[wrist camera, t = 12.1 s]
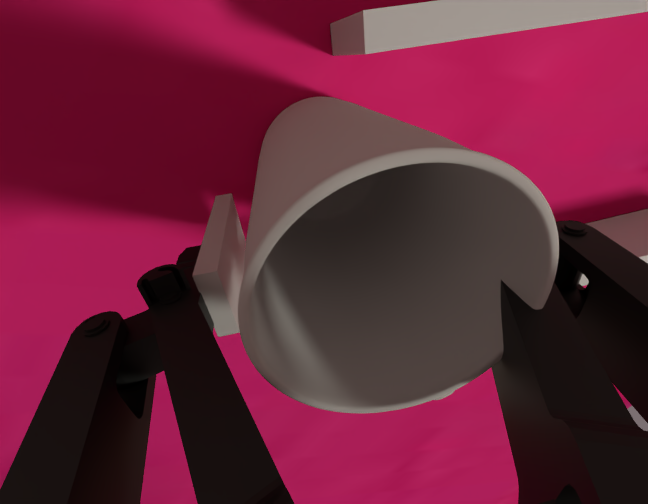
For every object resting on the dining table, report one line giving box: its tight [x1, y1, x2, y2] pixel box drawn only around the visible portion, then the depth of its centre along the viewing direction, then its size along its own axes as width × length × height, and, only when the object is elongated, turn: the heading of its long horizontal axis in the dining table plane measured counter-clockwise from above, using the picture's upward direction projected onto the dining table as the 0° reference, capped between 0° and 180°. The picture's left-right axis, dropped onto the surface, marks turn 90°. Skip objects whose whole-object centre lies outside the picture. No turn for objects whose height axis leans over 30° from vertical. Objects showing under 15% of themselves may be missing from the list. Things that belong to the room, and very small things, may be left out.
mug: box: [238, 97, 559, 413], centre depth 13 cm, size 10×7×12 cm, turn 26°
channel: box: [330, 0, 648, 286], centre depth 18 cm, size 26×15×4 cm, turn 97°
